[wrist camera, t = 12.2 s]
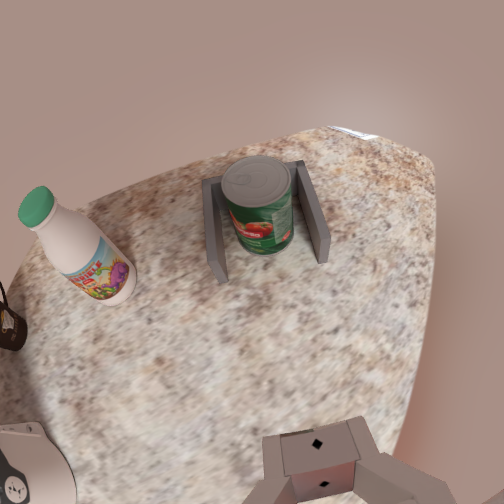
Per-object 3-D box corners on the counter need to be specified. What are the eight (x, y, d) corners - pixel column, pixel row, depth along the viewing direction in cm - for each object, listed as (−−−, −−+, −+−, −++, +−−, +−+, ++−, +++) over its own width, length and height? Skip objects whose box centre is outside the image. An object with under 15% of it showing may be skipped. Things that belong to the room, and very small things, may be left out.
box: (219, 283, 40) (207, 262, 35) (211, 206, 47) (201, 180, 42) (327, 262, 39) (331, 237, 34) (303, 188, 46) (303, 159, 41)
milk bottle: (90, 278, 43) (7, 202, 26) (127, 251, 45) (55, 162, 28) (105, 317, 40) (8, 246, 23) (146, 288, 41) (62, 200, 24)
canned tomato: (297, 212, 44) (295, 157, 35) (289, 260, 40) (285, 209, 31) (244, 207, 46) (231, 153, 36) (231, 253, 42) (212, 202, 33)
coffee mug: (22, 364, 37) (-21, 346, 28) (-1, 347, 39) (-40, 329, 30) (42, 303, 42) (3, 277, 34) (18, 292, 44) (-17, 267, 36)
